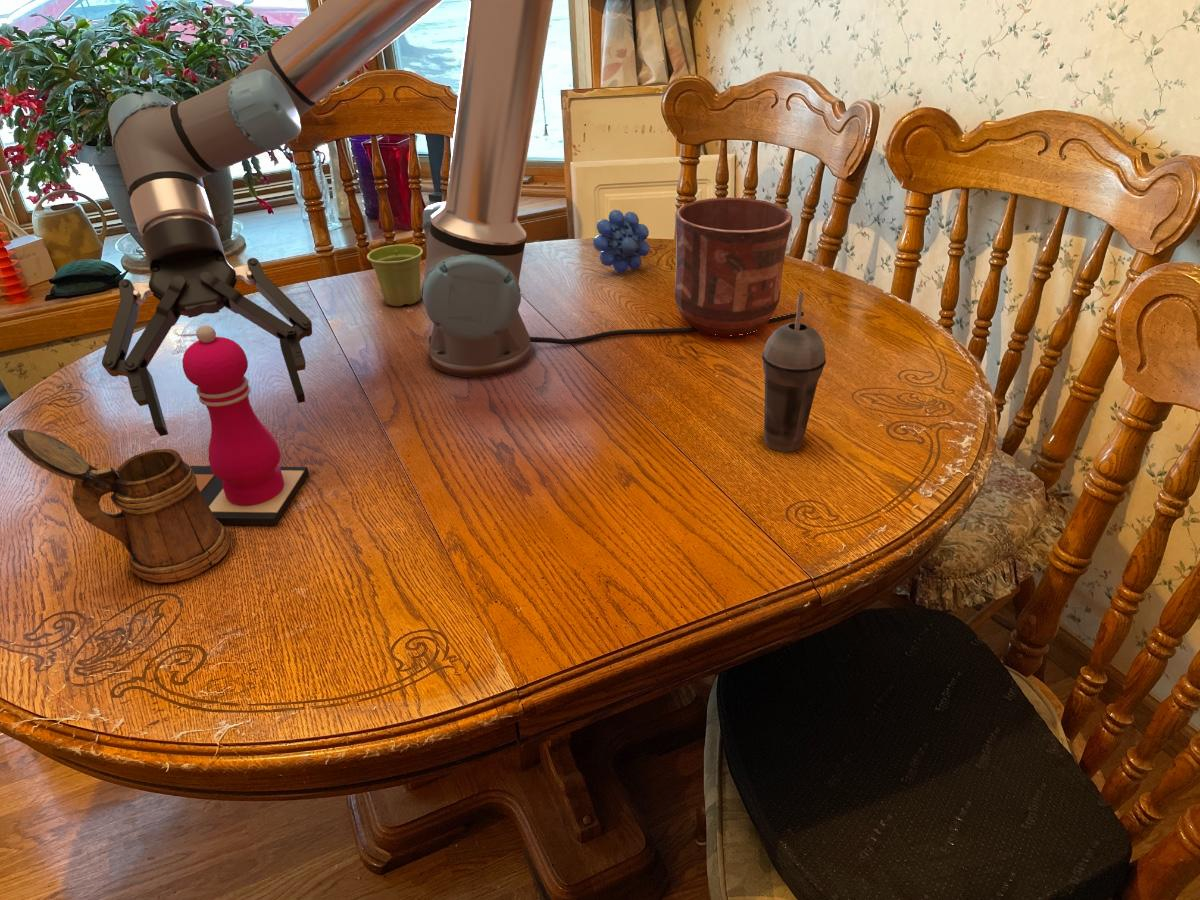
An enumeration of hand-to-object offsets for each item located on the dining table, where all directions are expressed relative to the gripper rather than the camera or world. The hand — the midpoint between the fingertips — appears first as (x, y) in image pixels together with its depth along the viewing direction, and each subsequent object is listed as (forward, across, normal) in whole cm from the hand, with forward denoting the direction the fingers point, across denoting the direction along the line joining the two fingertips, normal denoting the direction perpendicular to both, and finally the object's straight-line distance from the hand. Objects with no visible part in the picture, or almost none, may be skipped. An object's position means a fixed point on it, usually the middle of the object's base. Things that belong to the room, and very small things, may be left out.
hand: (233, 415), depth 81 cm
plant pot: (-28, -30, -46) cm, 62 cm away
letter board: (+6, +3, -11) cm, 13 cm away
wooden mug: (+12, +11, -5) cm, 17 cm away
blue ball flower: (-22, -71, -40) cm, 84 cm away
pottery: (-2, -74, -20) cm, 76 cm away
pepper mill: (+6, 0, -9) cm, 11 cm away
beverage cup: (+21, -59, +4) cm, 63 cm away
